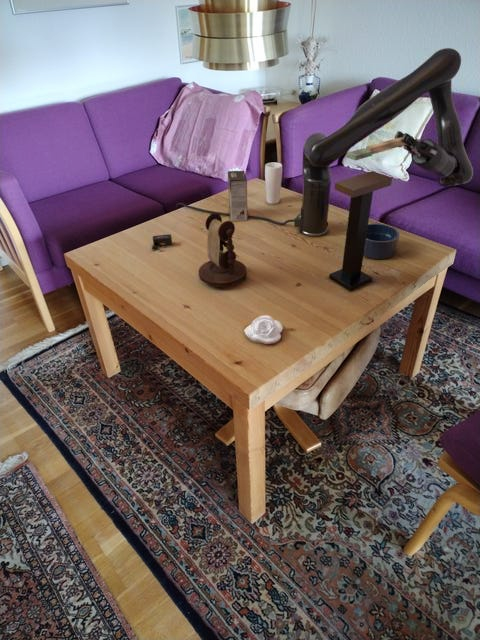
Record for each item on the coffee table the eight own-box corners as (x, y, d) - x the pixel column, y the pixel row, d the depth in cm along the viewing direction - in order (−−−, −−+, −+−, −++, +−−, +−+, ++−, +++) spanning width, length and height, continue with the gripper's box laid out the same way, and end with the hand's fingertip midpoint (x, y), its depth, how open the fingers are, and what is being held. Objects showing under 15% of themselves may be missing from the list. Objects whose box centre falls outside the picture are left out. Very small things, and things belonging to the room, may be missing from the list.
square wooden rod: (404, 141, 131) (405, 134, 130) (413, 143, 129) (415, 137, 128) (346, 157, 122) (347, 150, 121) (355, 160, 120) (356, 153, 119)
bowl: (353, 257, 154) (355, 239, 150) (357, 239, 164) (359, 221, 160) (395, 262, 151) (399, 244, 147) (396, 243, 161) (399, 225, 157)
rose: (272, 305, 126) (290, 325, 119) (272, 318, 128) (289, 338, 121) (238, 315, 123) (255, 336, 115) (238, 329, 125) (255, 350, 118)
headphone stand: (356, 266, 149) (370, 169, 131) (377, 279, 143) (395, 179, 125) (322, 280, 143) (332, 181, 125) (343, 294, 137) (356, 191, 118)
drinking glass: (280, 205, 188) (281, 168, 179) (263, 204, 189) (263, 167, 180) (282, 199, 193) (283, 162, 184) (266, 198, 195) (266, 161, 186)
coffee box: (228, 211, 185) (227, 170, 175) (245, 210, 185) (244, 169, 176) (230, 221, 178) (229, 179, 168) (247, 220, 178) (247, 178, 168)
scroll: (190, 275, 148) (184, 215, 136) (229, 260, 154) (226, 202, 142) (216, 296, 138) (212, 234, 126) (256, 279, 145) (256, 219, 133)
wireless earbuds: (151, 244, 164) (150, 236, 162) (171, 242, 165) (170, 234, 163) (152, 251, 161) (150, 242, 159) (172, 248, 162) (171, 240, 160)
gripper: (417, 138, 142) (387, 116, 131) (457, 150, 133) (428, 127, 121) (405, 163, 145) (374, 143, 133) (443, 175, 135) (413, 155, 124)
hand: (400, 135), depth 127 cm, fingers closed on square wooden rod, 2 cm apart
